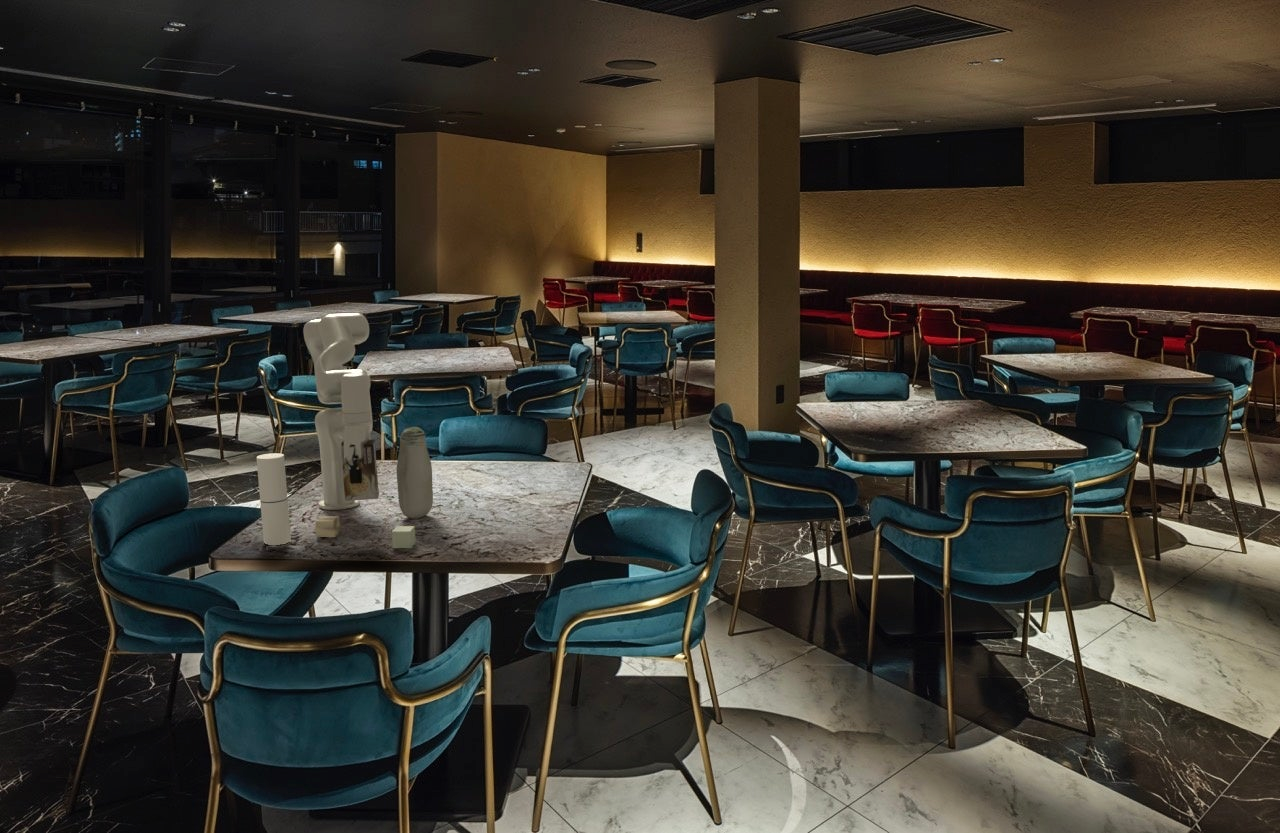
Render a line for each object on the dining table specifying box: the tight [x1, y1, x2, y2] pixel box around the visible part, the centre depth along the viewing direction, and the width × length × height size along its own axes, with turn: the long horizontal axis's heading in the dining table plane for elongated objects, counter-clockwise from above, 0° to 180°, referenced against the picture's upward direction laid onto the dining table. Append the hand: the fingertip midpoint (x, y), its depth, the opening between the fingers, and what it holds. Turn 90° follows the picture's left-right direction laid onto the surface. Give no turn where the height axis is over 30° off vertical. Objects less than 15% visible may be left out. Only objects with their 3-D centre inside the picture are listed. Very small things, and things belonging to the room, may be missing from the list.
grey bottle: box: [396, 426, 434, 520], centre depth 286 cm, size 10×10×28 cm
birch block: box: [315, 515, 341, 538], centre depth 271 cm, size 5×5×5 cm
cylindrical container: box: [256, 452, 292, 545], centre depth 263 cm, size 7×7×25 cm
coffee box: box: [341, 439, 380, 501], centre depth 263 cm, size 9×6×16 cm
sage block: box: [391, 525, 417, 549], centre depth 260 cm, size 5×5×5 cm
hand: (360, 479), depth 264 cm, fingers closed on coffee box, 7 cm apart
